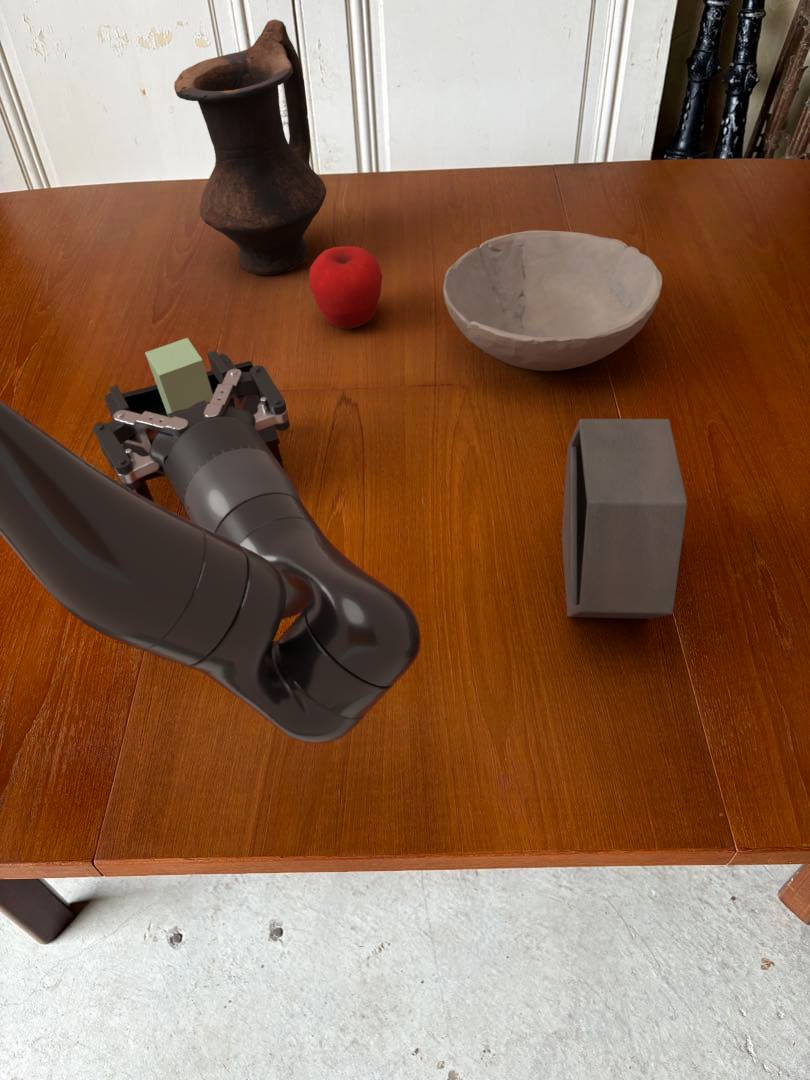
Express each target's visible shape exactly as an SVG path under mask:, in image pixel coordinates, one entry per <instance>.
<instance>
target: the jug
mask: <svg viewBox="0 0 810 1080" xmlns="http://www.w3.org/2000/svg"><path fill="white" fill-rule="evenodd" d="M173 84H174V86H173V88H174V92H175V94H176V97H178V98H179V99H182V100H185V101H188V102H189V101H190V102H197V104H198V106H199V109H200V111H201V114H202V117H203V119H204V122H205V125H206V129H207V132H208V134H209V138H210V141H211V143H212V146H213V150H214V157H215V162H214V163H215V164H214V167H213V169H212V172H211V173H210V175H209V178H208V180H207V182H206V185H205V187H204V189H203V191H202V194H201V198H200V202H199V214H200V217H201V219H202V221H204V223H205V224H206V225H208V226H209V227H210V228H212V229H214V230H215V231H217V232H219V233H221V234H223V235H224V236H225V237H227V238H228V239H229V240H230V241H232V242H233V243H234V244H235V245H237V247H238V248H239V251H238V255H237V261H238V265H239V266H240V268H241V269H242V270H243V271H244V270H245V271H246V272H248V273H251V274H257V275H265V276H266V275H267V276H268V275H276V274H280V273H283V272H287V271H291V270H293V269H296V268H297V267H298V266H301V265H302V264H303V263H305V261H306V260H307V257H308V255H309V244H308V243H307V241H306V240H305V239H304V234H305V233H306V232H307V230H308V228H309V227H310V225H311V223H312V222H313V220H314V218H315V217H316V216H317V215H318V213H319V212H320V210H321V208H322V206H323V204H324V202H325V199H326V196H327V187H326V185H325V182H324V180H323V179H322V178H321V177H320V176H319V175H318V174H317V173H316V171H314V169H312V166H311V164H310V159H311V158H310V157H311V146H312V145H311V133H310V125H309V118H308V113H309V112H308V104H307V95H306V94H307V93H306V87H305V86H306V85H305V80H304V75H303V67H302V63H301V61H300V57H299V55H298V53H297V51H296V49H295V46H294V44H293V42H292V41H291V38H290V36H289V35H288V31H287V26H286V25H285V23H284V22H283V21H282V20H278V19H277V18H276V19H275V18H274V19H270V20H269V21H267V23H266V24H265V26H264V28H263V29H262V31H261V33H260V34H259V36H258V37H257V39H256V40H255V42H254V43H253V44H252V46H250V47H248V48H247V49H244V50H241V51H237V52H232V53H227V54H224V55H220V56H215V57H212V58H208V59H204V60H202V61H199V62H197V63H195V64H193V65H191V66H189V67H187V68H185V69H183V70H182V71H181V72H180V74H179V75H178V76H177V78H176V80H175V81H174V83H173ZM282 84H283V91H284V95H285V96H284V97H285V103H286V108H287V121H288V123H287V124H288V135H289V139H287V138H286V133H285V130H284V124H283V119H282V113H281V106H280V93H279V86H281V85H282Z"/></svg>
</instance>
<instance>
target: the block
mask: <svg viewBox="0 0 810 1080" xmlns="http://www.w3.org/2000/svg"><path fill="white" fill-rule="evenodd" d="M144 354H145V357H146V360H147V363H148V365H149V368H150V370H151V371H150V372H151V373H152V376H153V379H154V382H155V385H157V387H158V390H159V393H160V396H161V398H162V401H163V404H164V407H165V410H166V412H167V415H168V414H169V413H172V412H175V411H178V410H183V409H187V408H189V407H191V406H193V405H194V404H196V403H199V402H201V401H204V400H205V401H206V402H210V401H211V399H212V397H213V393H212V390H211V386H210V383H209V380H208V376H207V373H206V372H207V370H206V366H205V363H204V360H203V358H202V357H201V355H200V354H199V353H198V350H197V349H196V348H195V347H194V346H193V343H192V342H191V341H190V339H189V338H188V337H185V338H181V339H179V340H176V341H174V342H170V343H168V344H165V345H162V346H160V347H157V348H154V349H150V350H148V351H145V352H144Z"/></svg>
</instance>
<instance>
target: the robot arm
mask: <svg viewBox="0 0 810 1080" xmlns="http://www.w3.org/2000/svg"><path fill="white" fill-rule="evenodd" d="M206 354H207V358H208V362H209V365H210V370H211V371H213V373H214V375H215V377H216V378H217V379H218V381H219V382H220V384H218V386H217V388H216V390H215V392H214V395H213V397H212V399H211V401H210V402H206V401H205V400H204V401H201V402H199V403H196V404H194V405H193V406H191V407H189V408H187V409H183V410H178V411H175V412H172V413H169V414H168V417H166V416H163V415H159V414H155V413H151V412H147V411H145V412H144V413H143V414H138V413H134V412H131V411H130V409H129V406H128V404H127V403H126V401H125V399H124V397H123V395H122V391H121V390H120V388H119V386H118V385H117V384H115V385H113V386H109V387H108V390H109V393H108V394H105V395H104V402H105V405H106V407H107V409H108V412H109V414H110V416H111V418H112V419H111V420H110V421H109V422H98V423H96V424H94V426H93V427H92V432H93V434H94V436H95V438H96V439H97V441H98V444H99V446H100V449H101V451H102V454H103V455H104V457H105V460H107V462H108V463H109V465H110V467H111V469H112V470H113V472H114V474H115V475H116V477H117V478H118V480H119V481H117V480H116V479H114V478H113V477H111V476H110V475H108V474H106V473H105V472H103V471H101V470H100V469H98V468H97V467H96V466H94V465H93V464H91V463H90V462H88V461H87V460H85V459H83V458H82V457H81V456H79V454H77V453H75V452H74V451H72V450H71V449H69V448H68V447H67V446H65V445H64V444H62V443H61V442H59V440H56V439H55V438H54V437H52V436H51V435H50V434H49V433H47V432H46V431H44V430H43V429H42V428H41V427H38V426H37V425H36V424H35V423H33V422H32V421H30V420H29V419H27V418H26V417H25V416H24V415H22V414H20V413H19V412H17V411H16V410H15V409H14V408H12V407H11V406H9V405H8V404H6V403H5V402H3V401H2V400H0V536H1V537H2V538H3V539H4V540H5V542H6V543H7V544H8V546H9V547H10V548H11V549H12V551H13V552H14V553H15V554H16V556H17V557H18V558H19V559H20V561H21V562H22V563H23V564H24V566H25V567H26V568H27V569H28V570H29V571H30V573H31V574H32V575H33V576H34V577H35V579H36V580H37V581H38V582H39V584H40V585H41V586H42V587H43V588H44V589H45V590H46V591H47V593H49V594H50V596H51V597H53V598H54V599H55V601H57V603H58V604H60V605H61V607H63V608H64V609H65V610H66V611H68V613H70V614H71V615H73V616H74V617H75V618H76V619H78V620H79V621H80V622H82V623H83V624H84V625H86V626H87V627H89V628H91V629H92V630H94V631H95V632H97V633H99V634H100V635H102V636H105V637H108V638H109V639H112V640H114V641H116V642H118V643H121V644H124V645H126V646H129V647H131V648H134V649H138V650H140V651H143V652H146V653H149V654H151V655H154V656H156V657H159V658H162V659H164V660H167V661H170V662H172V663H176V664H178V665H182V666H183V667H187V668H188V669H191V670H195V671H197V672H200V673H202V674H203V675H204V676H206V677H208V678H209V679H211V680H212V681H214V682H215V683H217V684H218V685H220V686H221V687H222V688H224V689H225V690H227V691H228V692H229V693H230V694H232V695H233V696H234V697H236V698H237V699H238V700H241V701H242V702H243V703H244V704H246V705H247V706H249V707H250V708H251V709H252V710H254V711H255V712H256V713H258V714H259V715H260V716H262V717H263V718H264V719H265V720H266V721H267V722H269V723H270V724H271V725H272V726H274V727H275V728H276V729H277V730H279V731H280V732H281V733H283V734H285V735H286V736H287V737H289V738H292V739H294V740H296V741H297V742H298V741H299V742H302V743H307V744H324V743H325V744H326V743H331V742H334V741H338V740H340V739H342V738H343V737H345V736H346V735H348V734H349V733H351V731H352V730H353V729H355V728H356V727H357V725H359V724H360V723H361V721H362V720H363V719H364V718H366V716H367V715H368V713H370V711H371V710H372V709H373V708H374V707H375V706H376V705H377V704H378V703H379V702H380V701H381V699H383V698H384V696H385V695H386V694H387V693H388V692H389V691H390V690H392V688H393V687H394V686H395V684H397V682H398V681H399V680H400V679H401V678H402V677H403V676H404V675H405V674H406V673H407V671H409V669H410V668H411V667H412V666H413V665H414V663H415V662H416V660H417V659H418V656H419V653H420V651H421V644H422V643H421V642H422V641H421V640H422V639H421V636H422V635H421V629H420V624H419V622H418V619H417V616H416V614H415V612H414V611H413V609H412V607H411V606H410V604H409V603H408V602H407V601H406V600H405V599H404V598H403V597H402V596H400V595H399V594H398V593H397V592H395V591H394V590H393V589H392V588H390V587H388V586H387V585H386V584H384V583H383V582H382V581H379V580H378V579H377V578H375V577H374V576H372V575H371V574H369V573H367V571H365V570H363V569H362V568H361V567H360V566H358V565H357V564H356V563H354V562H353V561H352V560H351V559H350V558H349V557H347V556H346V555H345V554H344V553H343V552H341V550H339V549H338V548H337V547H336V546H335V545H334V544H333V543H332V542H331V541H330V540H329V538H327V536H326V535H325V533H323V531H322V530H321V528H320V526H319V525H318V524H317V522H316V521H315V519H314V518H313V516H312V515H311V514H310V512H309V510H308V508H307V507H306V506H305V505H304V503H303V501H302V499H301V497H300V494H299V493H298V490H297V488H296V486H295V484H294V483H293V481H292V480H291V478H290V476H289V475H288V474H287V472H286V471H285V468H284V469H283V468H282V467H281V465H280V464H279V462H278V461H277V459H276V458H275V456H274V455H273V454H272V452H271V451H270V449H269V448H268V446H267V445H266V443H265V442H264V441H263V439H262V438H261V436H260V435H259V433H258V430H261V429H264V428H267V427H270V426H273V425H274V427H275V430H276V431H279V432H284V431H287V430H288V429H289V428H290V427H291V424H290V419H289V414H288V413H289V412H288V408H287V405H286V400H285V398H284V396H283V395H282V394H281V392H280V390H279V388H278V387H277V385H276V384H275V383H274V381H273V380H272V377H271V376H270V375H269V373H268V371H267V370H266V368H265V366H263V365H260V364H259V365H253V367H252V368H251V369H250V372H241V371H240V370H239V369H237V368H236V367H235V366H234V365H235V364H234V362H233V361H232V360H231V359H230V357H229V356H228V355H227V354H225V353H220V354H219V353H218V351H217V350H216V349H214V350H211V351H208V352H206ZM252 394H255V395H256V397H257V398H258V400H259V402H260V404H259V405H258V412H257V413H256V414H254V415H253V414H252V413H251V412H249V411H246V410H242V408H243V405H244V403H245V400H246V398H247V395H252ZM157 431H158V432H157ZM124 442H125V443H128V444H132V445H135V446H139V447H142V448H144V449H145V450H146V451H147V452H148V453H149V455H148V456H140V455H138V454H137V453H134V452H132V450H131V449H126V450H124V449H123V447H122V443H124ZM155 471H158V472H159V473H161V474H163V475H164V476H165V477H166V478H167V479H168V481H169V483H170V485H171V486H172V488H173V490H174V493H175V494H176V496H177V498H178V499H179V501H180V503H181V505H182V507H183V509H184V511H185V512H186V514H187V516H188V518H189V519H188V518H186V517H184V516H182V515H180V514H178V513H175V512H174V511H171V510H169V509H167V508H165V507H164V506H162V505H160V504H158V503H156V502H155V501H154V502H155V503H154V502H153V501H151V500H149V499H147V498H145V497H143V496H142V495H140V494H138V493H137V492H136V489H137V488H138V487H139V486H140V482H139V478H141V477H143V476H146V475H148V474H150V473H153V472H155ZM297 615H298V616H297ZM295 616H297V617H296V618H295V619H294V620H293V622H292V623H291V624H290V625H289V626H288V628H287V629H285V631H284V632H283V633H282V634H281V636H280V637H278V639H277V640H275V637H276V635H277V633H278V630H279V628H280V625H281V623H282V620H285V619H286V620H287V619H289V618H292V617H295Z"/></svg>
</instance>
